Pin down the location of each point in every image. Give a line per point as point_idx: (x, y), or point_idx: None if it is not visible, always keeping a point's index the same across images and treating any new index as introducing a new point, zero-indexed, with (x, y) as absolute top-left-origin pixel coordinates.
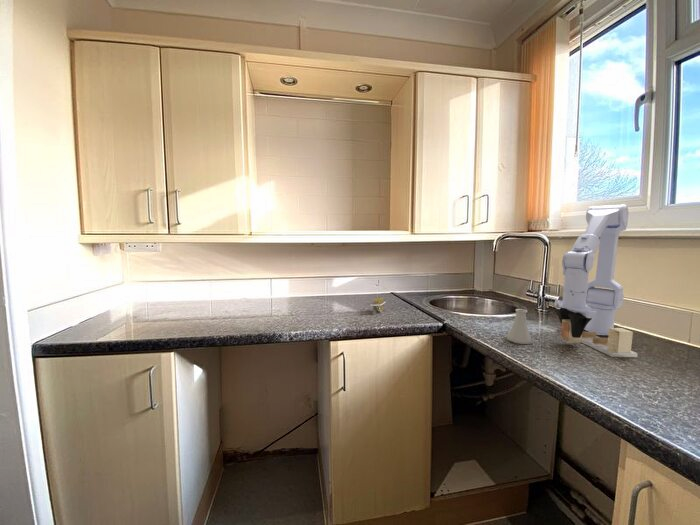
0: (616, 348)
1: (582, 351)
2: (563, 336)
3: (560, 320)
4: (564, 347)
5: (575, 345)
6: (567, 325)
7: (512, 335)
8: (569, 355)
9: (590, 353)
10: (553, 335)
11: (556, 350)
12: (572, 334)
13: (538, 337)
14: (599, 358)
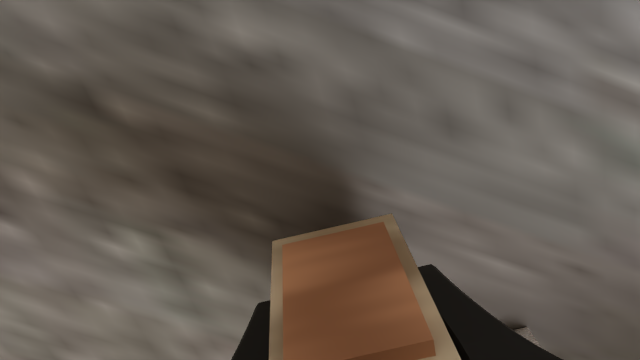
0: None
1: (201, 281)
2: (340, 233)
3: (509, 341)
4: (259, 180)
5: None
6: (296, 351)
7: None
8: (25, 141)
9: (173, 317)
10: (601, 208)
11: (128, 71)
12: (262, 316)
13: (528, 34)
14: (75, 334)
